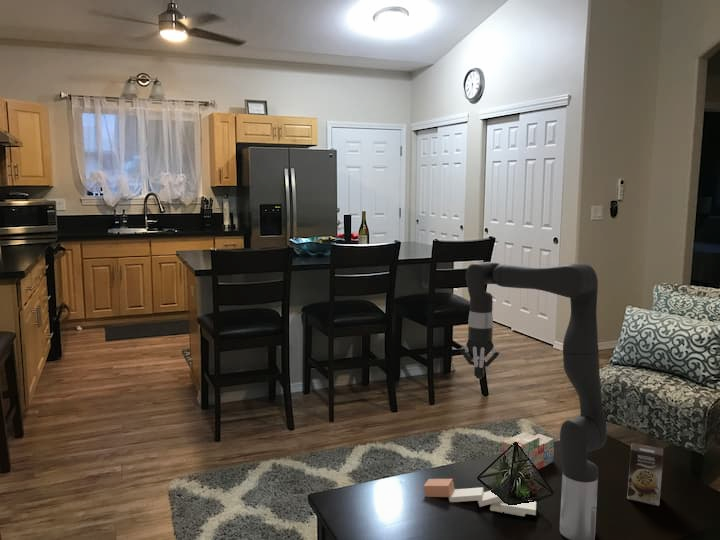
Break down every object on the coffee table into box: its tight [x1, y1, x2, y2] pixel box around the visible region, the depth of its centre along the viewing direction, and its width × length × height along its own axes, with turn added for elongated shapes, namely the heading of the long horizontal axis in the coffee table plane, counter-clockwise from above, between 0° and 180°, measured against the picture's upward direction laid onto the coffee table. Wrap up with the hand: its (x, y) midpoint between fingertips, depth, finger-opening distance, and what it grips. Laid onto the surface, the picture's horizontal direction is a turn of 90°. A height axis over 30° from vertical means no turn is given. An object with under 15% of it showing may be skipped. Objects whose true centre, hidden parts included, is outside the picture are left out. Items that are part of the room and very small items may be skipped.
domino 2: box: [448, 487, 485, 503], centre depth 178 cm, size 2×5×10 cm
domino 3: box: [477, 490, 502, 508], centre depth 177 cm, size 2×5×10 cm
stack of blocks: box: [501, 431, 555, 470], centre depth 199 cm, size 21×6×12 cm, turn 130°
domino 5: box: [500, 501, 537, 516], centre depth 173 cm, size 2×5×10 cm
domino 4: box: [489, 501, 526, 517], centre depth 174 cm, size 2×5×10 cm
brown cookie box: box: [626, 442, 665, 507], centre depth 180 cm, size 9×6×16 cm
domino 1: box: [423, 478, 456, 498], centre depth 181 cm, size 4×5×8 cm
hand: (479, 377), depth 187 cm, fingers closed
